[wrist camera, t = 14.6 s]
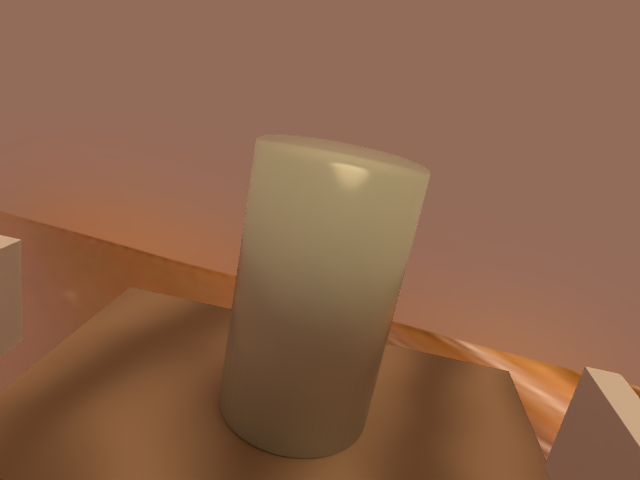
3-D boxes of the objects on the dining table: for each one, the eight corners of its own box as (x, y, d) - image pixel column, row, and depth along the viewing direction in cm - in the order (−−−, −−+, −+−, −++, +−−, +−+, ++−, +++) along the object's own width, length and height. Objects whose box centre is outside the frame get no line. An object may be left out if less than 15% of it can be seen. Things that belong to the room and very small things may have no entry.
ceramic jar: (368, 380, 25) (424, 159, 21) (361, 476, 19) (438, 189, 15) (243, 349, 25) (277, 128, 22) (195, 434, 19) (233, 146, 16)
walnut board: (500, 393, 28) (508, 371, 28) (601, 669, 15) (619, 635, 15) (128, 309, 30) (129, 286, 29) (-79, 494, 16) (-83, 458, 16)
